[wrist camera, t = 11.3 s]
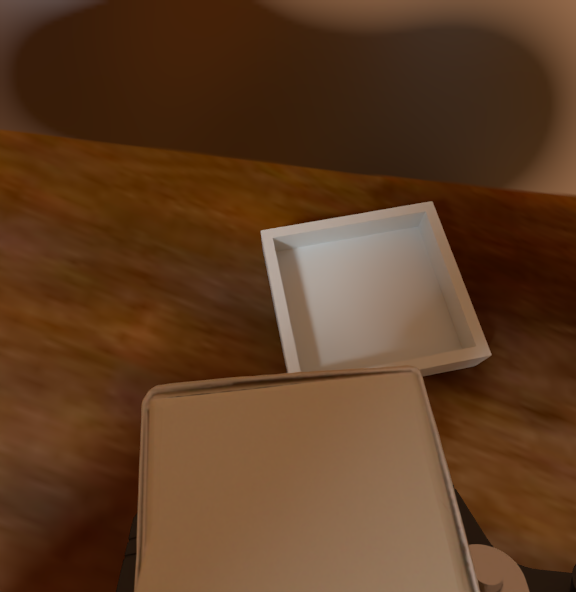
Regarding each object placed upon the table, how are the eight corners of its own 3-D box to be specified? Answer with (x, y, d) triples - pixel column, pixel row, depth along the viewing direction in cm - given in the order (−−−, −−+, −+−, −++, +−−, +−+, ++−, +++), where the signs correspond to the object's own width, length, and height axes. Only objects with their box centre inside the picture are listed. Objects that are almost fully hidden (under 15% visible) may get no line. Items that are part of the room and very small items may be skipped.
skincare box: (369, 633, 15) (599, 1046, 4) (243, 649, 15) (107, 1130, 4) (341, 438, 18) (431, 352, 6) (232, 450, 18) (133, 382, 6)
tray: (474, 366, 32) (491, 355, 30) (292, 402, 31) (292, 394, 29) (421, 222, 37) (432, 201, 34) (262, 249, 36) (260, 230, 34)
